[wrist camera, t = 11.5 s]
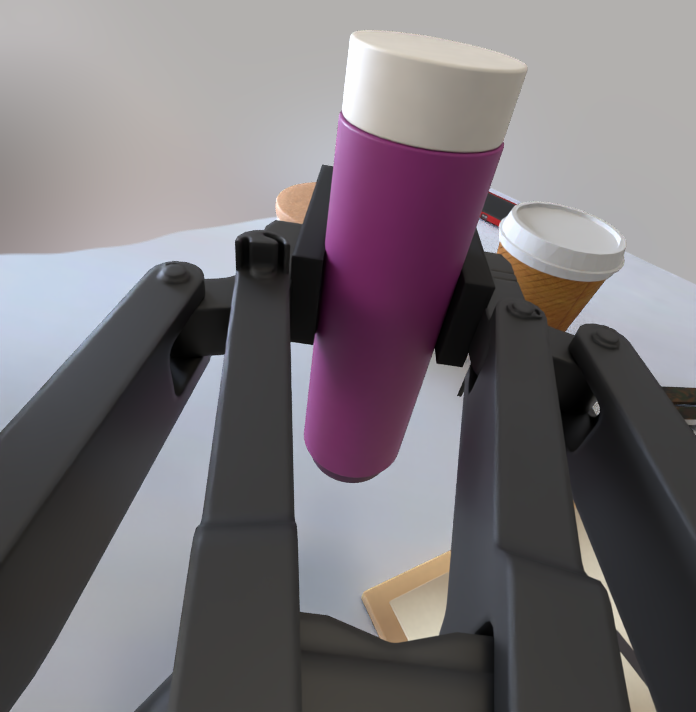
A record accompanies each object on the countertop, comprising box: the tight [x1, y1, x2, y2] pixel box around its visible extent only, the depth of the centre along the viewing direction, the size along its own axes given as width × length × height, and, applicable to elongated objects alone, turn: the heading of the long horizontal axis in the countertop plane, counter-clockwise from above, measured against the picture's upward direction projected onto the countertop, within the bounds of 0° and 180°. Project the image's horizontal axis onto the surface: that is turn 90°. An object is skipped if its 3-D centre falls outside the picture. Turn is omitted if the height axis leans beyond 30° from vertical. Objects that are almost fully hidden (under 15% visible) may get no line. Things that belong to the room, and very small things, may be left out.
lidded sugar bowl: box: [276, 182, 316, 224], centre depth 43 cm, size 11×11×9 cm
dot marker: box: [304, 30, 527, 483], centre depth 13 cm, size 4×4×13 cm
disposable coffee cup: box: [497, 201, 627, 332], centre depth 38 cm, size 10×10×12 cm
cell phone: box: [480, 192, 517, 226], centre depth 65 cm, size 8×15×1 cm, turn 43°
